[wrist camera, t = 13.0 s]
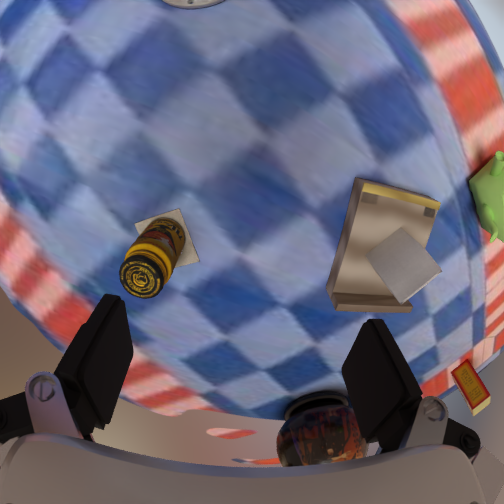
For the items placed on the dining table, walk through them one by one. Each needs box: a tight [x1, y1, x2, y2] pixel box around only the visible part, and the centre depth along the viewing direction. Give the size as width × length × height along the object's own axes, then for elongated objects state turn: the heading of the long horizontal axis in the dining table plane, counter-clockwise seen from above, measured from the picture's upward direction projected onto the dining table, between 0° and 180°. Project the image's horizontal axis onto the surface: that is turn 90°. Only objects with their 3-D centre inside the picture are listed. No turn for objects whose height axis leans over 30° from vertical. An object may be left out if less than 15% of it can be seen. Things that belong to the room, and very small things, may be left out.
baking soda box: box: [451, 359, 490, 416], centre depth 53 cm, size 10×6×16 cm
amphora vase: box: [276, 392, 369, 467], centre depth 47 cm, size 22×22×28 cm
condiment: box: [119, 209, 199, 299], centre depth 34 cm, size 7×8×12 cm
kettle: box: [469, 151, 504, 243], centre depth 31 cm, size 15×14×11 cm
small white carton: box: [365, 228, 442, 304], centre depth 33 cm, size 4×7×10 cm, turn 131°
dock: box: [326, 177, 441, 313], centre depth 37 cm, size 18×14×6 cm
